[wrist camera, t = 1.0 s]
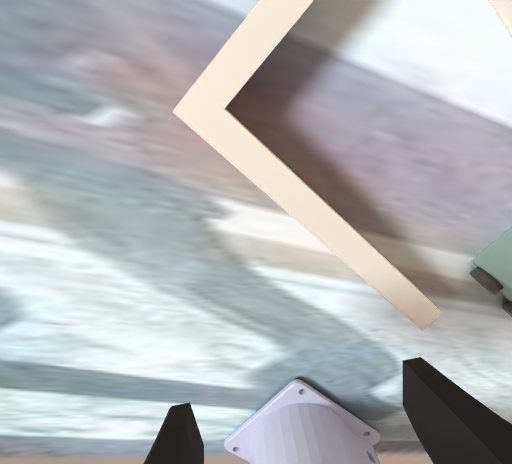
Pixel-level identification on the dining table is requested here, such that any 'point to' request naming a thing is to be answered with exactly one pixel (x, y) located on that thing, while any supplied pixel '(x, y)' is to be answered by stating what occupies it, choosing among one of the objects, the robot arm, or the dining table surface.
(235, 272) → the dining table surface
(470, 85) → the dining table surface
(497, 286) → the cart
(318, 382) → the dining table surface
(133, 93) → the dining table surface
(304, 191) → the bay
